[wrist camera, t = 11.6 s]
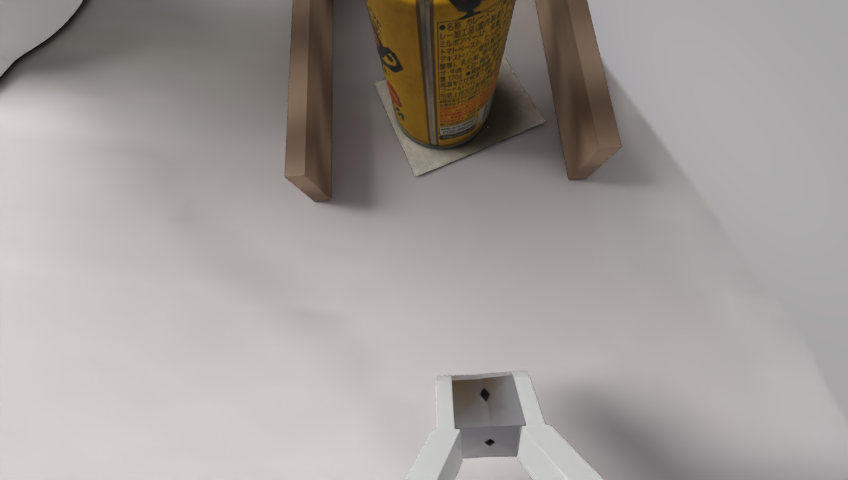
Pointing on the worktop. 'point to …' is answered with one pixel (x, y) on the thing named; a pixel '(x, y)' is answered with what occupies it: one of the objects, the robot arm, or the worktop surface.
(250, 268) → the worktop surface
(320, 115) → the box
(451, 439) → the robot arm
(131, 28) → the worktop surface
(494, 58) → the condiment
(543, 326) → the worktop surface
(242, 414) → the worktop surface
